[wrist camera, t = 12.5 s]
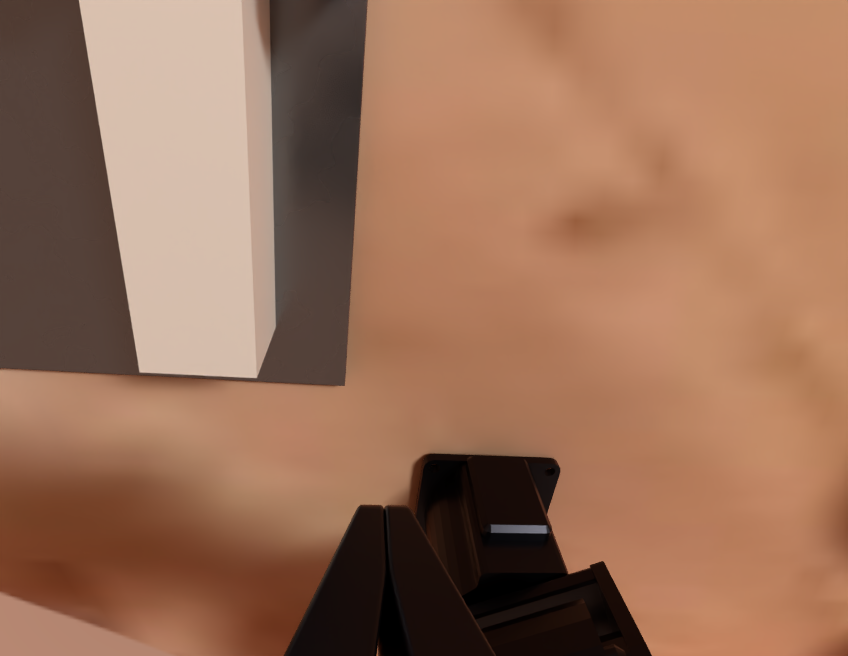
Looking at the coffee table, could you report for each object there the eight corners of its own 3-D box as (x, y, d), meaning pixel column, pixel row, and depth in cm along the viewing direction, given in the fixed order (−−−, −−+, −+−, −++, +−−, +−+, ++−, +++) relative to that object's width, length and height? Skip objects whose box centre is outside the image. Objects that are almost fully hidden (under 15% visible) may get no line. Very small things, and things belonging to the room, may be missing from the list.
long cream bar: (275, 327, 19) (256, 378, 16) (178, 321, 19) (139, 372, 16) (262, -338, 12) (222, -482, 8) (97, -374, 11) (-10, -541, 8)
